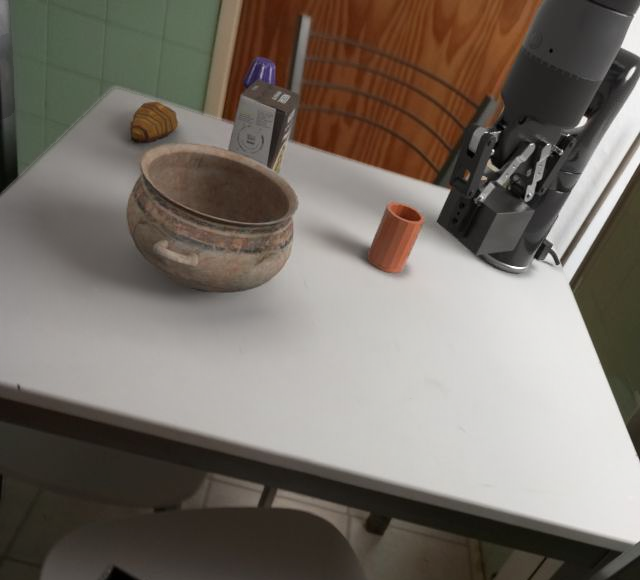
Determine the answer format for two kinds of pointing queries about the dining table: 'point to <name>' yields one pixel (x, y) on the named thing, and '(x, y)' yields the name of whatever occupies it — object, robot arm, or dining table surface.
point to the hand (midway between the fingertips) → (477, 230)
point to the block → (491, 221)
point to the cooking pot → (211, 217)
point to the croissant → (152, 122)
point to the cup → (395, 237)
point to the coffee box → (264, 123)
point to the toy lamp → (260, 72)
